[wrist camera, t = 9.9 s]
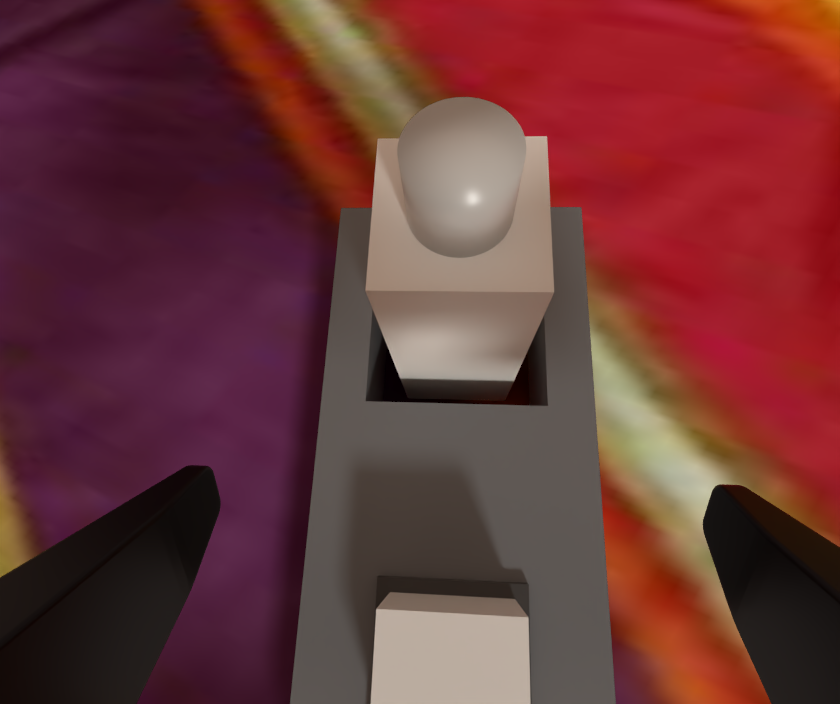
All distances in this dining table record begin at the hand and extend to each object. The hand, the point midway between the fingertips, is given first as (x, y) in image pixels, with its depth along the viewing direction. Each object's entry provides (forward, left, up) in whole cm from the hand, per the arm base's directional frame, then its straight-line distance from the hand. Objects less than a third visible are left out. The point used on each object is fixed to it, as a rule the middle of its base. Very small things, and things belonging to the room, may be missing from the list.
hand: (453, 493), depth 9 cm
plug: (+4, -4, -11) cm, 12 cm away
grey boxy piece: (0, 0, -11) cm, 11 cm away
